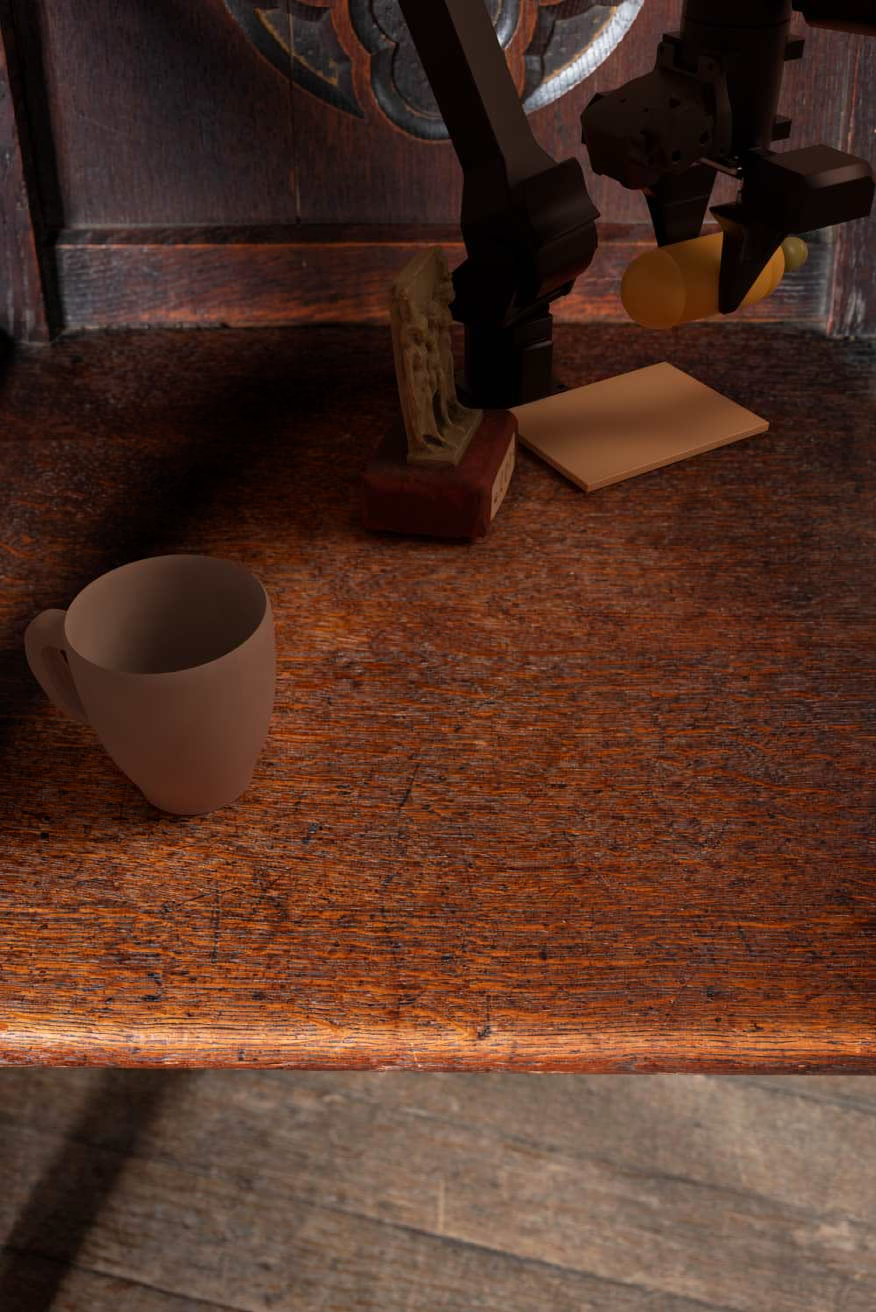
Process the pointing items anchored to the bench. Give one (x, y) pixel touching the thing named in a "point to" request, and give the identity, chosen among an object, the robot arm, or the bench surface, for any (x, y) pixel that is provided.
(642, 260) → the orange rounded cylinder
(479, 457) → the sculpture
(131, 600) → the mug
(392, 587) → the bench surface
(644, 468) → the birch board
